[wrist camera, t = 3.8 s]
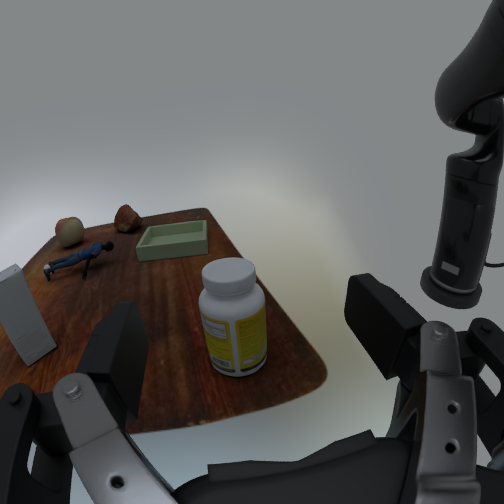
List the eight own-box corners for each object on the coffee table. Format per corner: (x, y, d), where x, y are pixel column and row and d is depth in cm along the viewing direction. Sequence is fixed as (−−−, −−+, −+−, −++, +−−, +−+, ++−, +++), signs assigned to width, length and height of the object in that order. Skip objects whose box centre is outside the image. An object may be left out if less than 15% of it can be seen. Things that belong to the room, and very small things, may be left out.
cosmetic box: (48, 335, 30) (17, 260, 25) (59, 348, 28) (23, 267, 23) (19, 355, 25) (-18, 279, 20) (27, 370, 23) (-15, 289, 18)
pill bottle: (264, 337, 31) (261, 251, 27) (269, 376, 25) (268, 283, 21) (211, 340, 31) (197, 255, 27) (208, 380, 25) (188, 288, 21)
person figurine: (45, 295, 43) (116, 268, 48) (35, 277, 41) (108, 248, 46) (57, 272, 52) (120, 248, 57) (49, 256, 50) (113, 230, 55)
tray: (207, 231, 67) (206, 219, 65) (208, 253, 54) (206, 239, 53) (150, 238, 65) (148, 226, 64) (138, 261, 53) (135, 247, 51)
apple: (56, 248, 63) (49, 222, 60) (80, 237, 70) (74, 212, 67) (65, 253, 59) (58, 224, 56) (91, 241, 66) (85, 214, 63)
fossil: (115, 213, 78) (123, 187, 72) (140, 220, 82) (149, 195, 77) (109, 240, 69) (115, 212, 64) (136, 247, 73) (145, 220, 68)
